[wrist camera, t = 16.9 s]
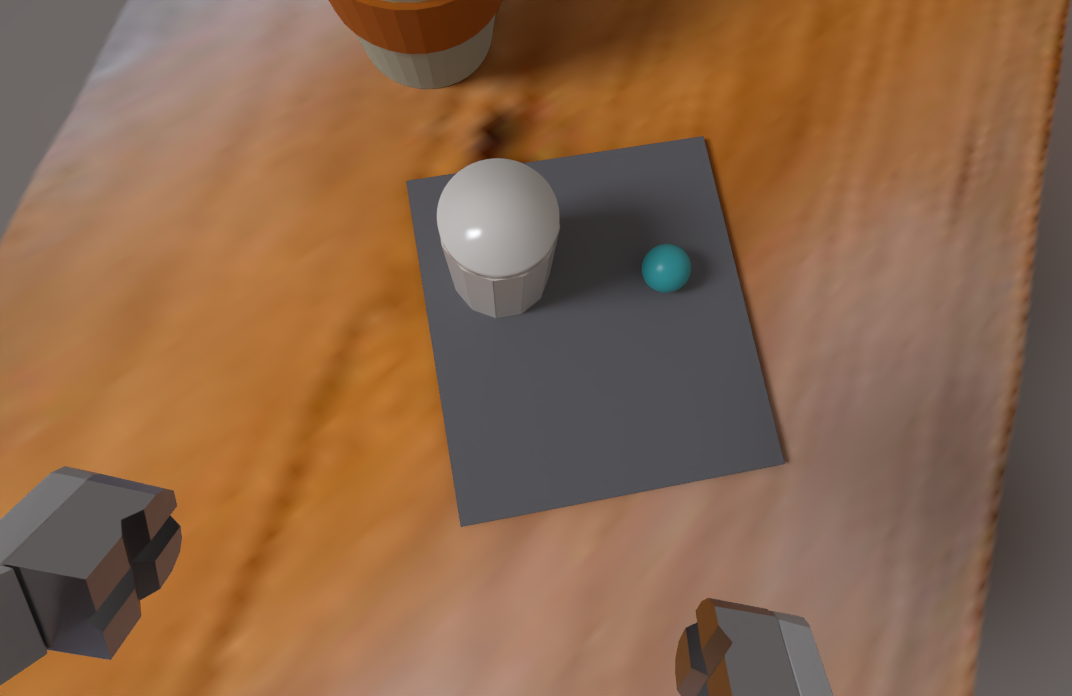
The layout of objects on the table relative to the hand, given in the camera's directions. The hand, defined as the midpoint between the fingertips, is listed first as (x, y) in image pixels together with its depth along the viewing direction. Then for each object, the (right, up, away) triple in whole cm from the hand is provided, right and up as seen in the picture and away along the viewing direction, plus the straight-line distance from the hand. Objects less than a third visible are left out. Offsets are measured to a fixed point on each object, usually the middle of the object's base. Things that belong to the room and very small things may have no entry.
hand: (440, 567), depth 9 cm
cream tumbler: (-1, +8, +29) cm, 30 cm away
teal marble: (+10, +8, +28) cm, 31 cm away
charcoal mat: (+5, +5, +29) cm, 30 cm away
